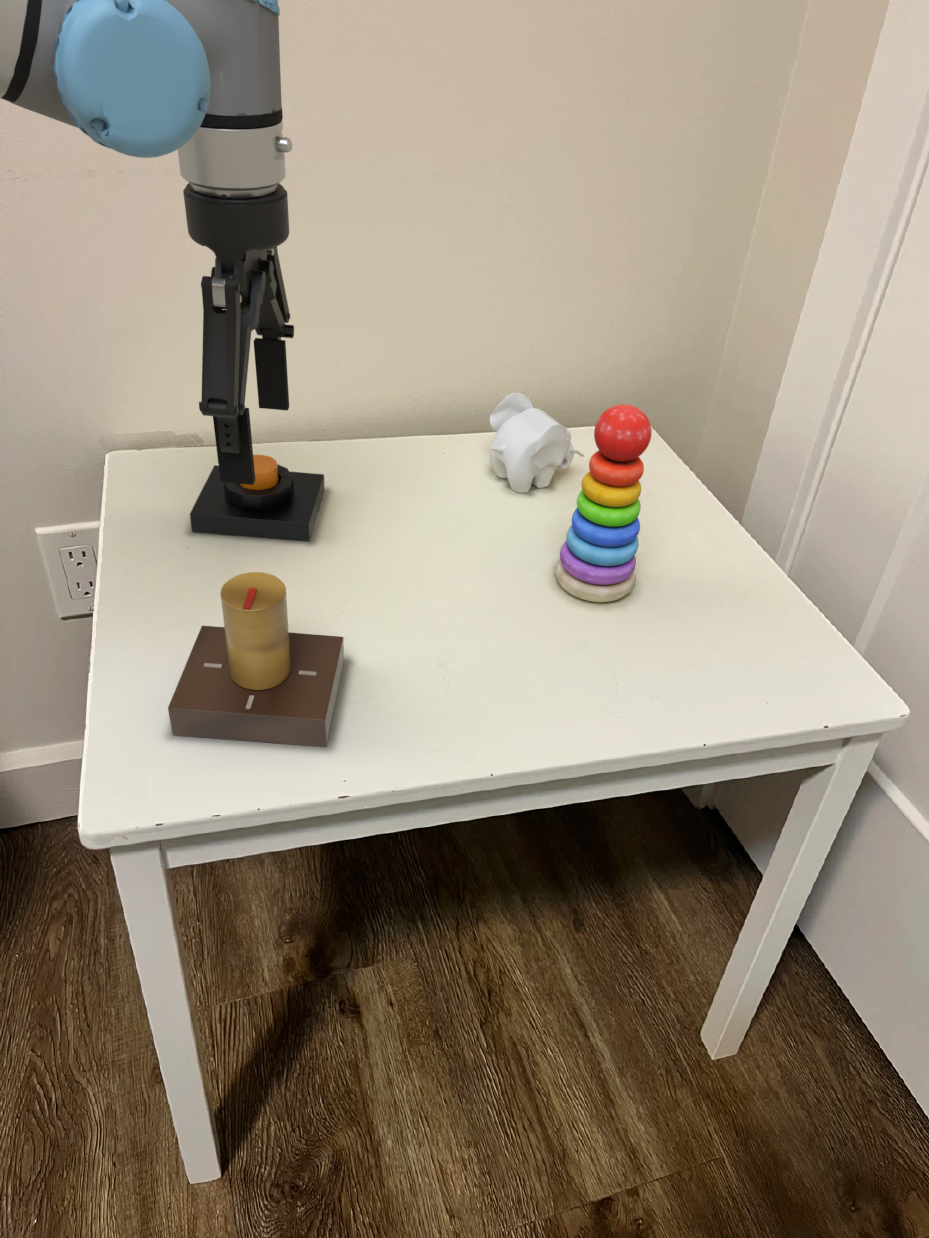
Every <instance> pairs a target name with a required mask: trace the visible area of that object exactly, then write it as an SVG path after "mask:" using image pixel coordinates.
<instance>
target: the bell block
mask: <svg viewBox="0 0 929 1238" xmlns="http://www.w3.org/2000/svg"><path fill="white" fill-rule="evenodd" d="M277 466H278V483H277V485H275V486H273V487H272V488H268V489H262V490H252V489H246V488H244V487H242V486H241V485H240V484H237V483H226V482H221V481H220V473H219V465H216V464H214V465H213V467H212V469H211V471H210V473H209V475H208V477H207V479H206V481H205V483H204V485H203V487H202V489H201V491H200V493H199V495H198V497H197V499H196V500H195V502H194V505H193V506H192V509H191V511H190V513H189V519H190V527H191V532H192V533H202V534H214V535H226V536H237V537H250V538H263V539H273V540H287V541H299V542H311V541H310V540H311V537H312V534H313V531H314V527H315V524H316V521H317V517H318V514H319V511H320V507H321V503H322V501H323V498H324V495H325V474H323V473H311V472H301V471H290V470H289V469H288V467H285V466H283V465H280V464H278V463H277Z"/></svg>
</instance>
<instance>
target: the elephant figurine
mask: <svg viewBox="0 0 929 1238" xmlns="http://www.w3.org/2000/svg"><path fill="white" fill-rule="evenodd" d="M489 423H490V428H491V430H493V431H494V432H495V435H494V437H493V439H492V442H491V445H490V448H489V462H490V465H491V468H492V471H493V472H494V474H495V475H496V476H497V477H498V478H501V479H507V481H508V483H509V486H510V488H511V490H513V491H514V492H516V493H519V494H520V493H522V494H523V493H524V494H526V493H528V492H529V491H530V489H531V487H532V484H533V485H534V486H535V487H537V488H538V489H542V488H547V487H549V485H550V484H551V482H552V479H553V476H554V474H555V472H556V470H557V469H558V470H559V471H564V470H566V469H568V468H569V467H570V465H571V464H572V462H573V460H574V457H575V454H576V455H578V456H580V457H581V458H583V457H584V458H585V457H586V456H585V454H584V453H582V452H581V451H580V450H578V449H577V448H575V447H574V446H573V445H572V434H571V432H570V431H569V430H568V428H567V427H566V426H565V425H562V424H560V423H559V422H558V421H557V420H556V419H554V418H553V417H551V416H550V414H547V412H546V411H544V410H543V409H541V408H538V407H534V406H533V404H532V402H531V400H530V398H528V397H527V396H526V395H524V394H522V393H520V392H515V391H514V392H511V393H509V394H507V395H506V396H505V397H504V398H503V399H502V400H500V402H499V403H498V405H496V407H495V408H494V410H493V411H492V412H491V414H490V415H489Z"/></svg>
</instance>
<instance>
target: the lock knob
mask: <svg viewBox="0 0 929 1238" xmlns="http://www.w3.org/2000/svg"><path fill="white" fill-rule="evenodd" d="M220 603H221V608H222V619H223V627H224V628H225V636H226V645H227V654H228V662H229V671H230V676H231V678H232V680H233V681H234V682H235V683H236V684H238V685H239V686H241V687H243V688H246V689H251V690H264V689H269V688H272V687H275V686H277V685H279V684H281V683H282V682H283V681H284V680H285V679H286V678H287V677H288V675H289V673H290V670H291V664H290V647H289V617H288V599H287V587H286V585H285V583H284V582H283V581H282V580H281V579H280V578H279V577H278V576H276V575H273V574H271V573H267V572H261V571H256V572H255V571H252V572H251V571H250V572H244V573H241V574H238V575H235V576H233V577H231V578H229V579H228V580H227V581H226V582H224V584H223V585H222V587H221V589H220Z"/></svg>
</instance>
